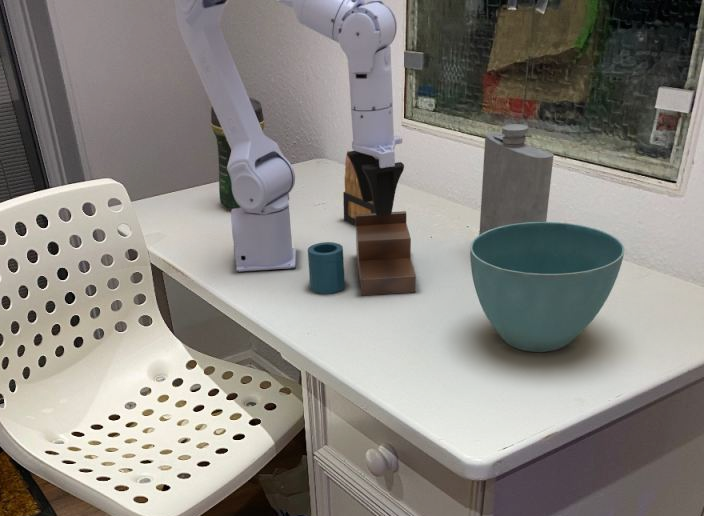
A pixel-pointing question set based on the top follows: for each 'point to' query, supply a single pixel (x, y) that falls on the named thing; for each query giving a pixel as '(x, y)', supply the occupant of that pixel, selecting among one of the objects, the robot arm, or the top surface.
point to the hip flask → (514, 179)
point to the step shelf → (384, 254)
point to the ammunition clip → (353, 196)
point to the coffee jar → (224, 155)
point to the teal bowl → (543, 280)
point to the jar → (326, 267)
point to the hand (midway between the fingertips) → (376, 207)
